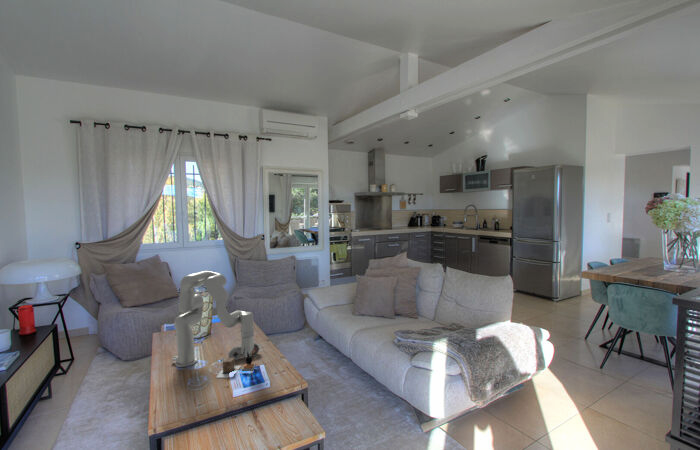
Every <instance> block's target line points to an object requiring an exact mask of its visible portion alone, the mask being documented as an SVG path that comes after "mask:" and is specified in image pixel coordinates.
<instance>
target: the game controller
mask: <svg viewBox="0 0 700 450" xmlns="http://www.w3.org/2000/svg"><path fill="white" fill-rule="evenodd" d="M259 351H260V346H259V345H258V344H257V343H256V342H254V348H253V350H252V357H254V356H256V355H257V354H258V353H259ZM227 354H228V358H234V362H235V361H238V360H239V359H241V358H245V352H244V354H243V355H242V354H241V345H239V346H234V347H232V348H231V349H230V350H229V351H228V353H227Z"/></svg>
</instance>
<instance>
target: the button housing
mask: <svg viewBox="0 0 700 450" xmlns="http://www.w3.org/2000/svg"><path fill="white" fill-rule="evenodd" d="M253 364H254V366H253V367H252V368H244V365H243V366H242V368H241V372H242V371H253V370H254V368H255V367H256V368H257V366H256V365H257V364H256V363H253Z"/></svg>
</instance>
